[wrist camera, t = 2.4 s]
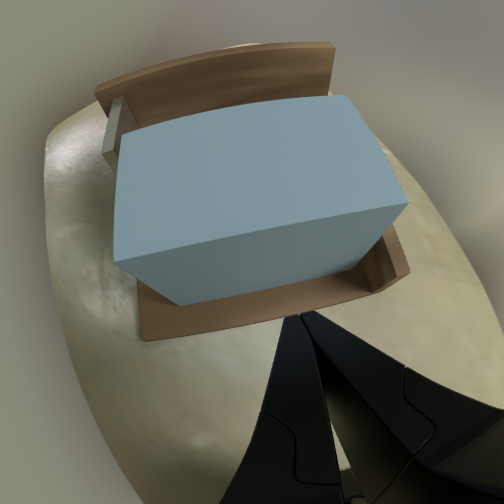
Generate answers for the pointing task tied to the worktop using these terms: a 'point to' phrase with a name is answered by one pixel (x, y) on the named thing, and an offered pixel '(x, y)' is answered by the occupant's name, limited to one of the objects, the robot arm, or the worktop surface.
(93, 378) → the worktop surface
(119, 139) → the bookend
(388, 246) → the shelf
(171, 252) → the light blue block
